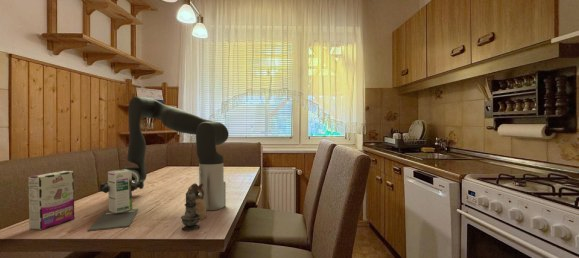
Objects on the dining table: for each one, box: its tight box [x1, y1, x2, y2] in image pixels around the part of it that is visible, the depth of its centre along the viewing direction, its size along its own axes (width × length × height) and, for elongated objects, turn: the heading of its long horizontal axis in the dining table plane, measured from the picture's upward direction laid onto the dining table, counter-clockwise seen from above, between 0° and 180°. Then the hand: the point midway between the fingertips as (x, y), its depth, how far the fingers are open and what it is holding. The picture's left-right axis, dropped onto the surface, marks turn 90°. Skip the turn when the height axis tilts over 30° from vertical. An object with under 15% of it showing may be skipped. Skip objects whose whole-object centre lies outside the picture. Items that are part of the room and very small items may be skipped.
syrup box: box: [107, 169, 133, 213], centre depth 105 cm, size 6×6×14 cm
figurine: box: [184, 183, 207, 222], centre depth 99 cm, size 7×7×12 cm
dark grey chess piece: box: [180, 189, 201, 232], centre depth 90 cm, size 6×6×12 cm
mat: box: [87, 208, 139, 232], centre depth 98 cm, size 20×11×1 cm, turn 20°
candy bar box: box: [27, 170, 75, 231], centre depth 94 cm, size 11×5×16 cm, turn 168°
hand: (119, 189), depth 103 cm, fingers closed on syrup box, 8 cm apart
